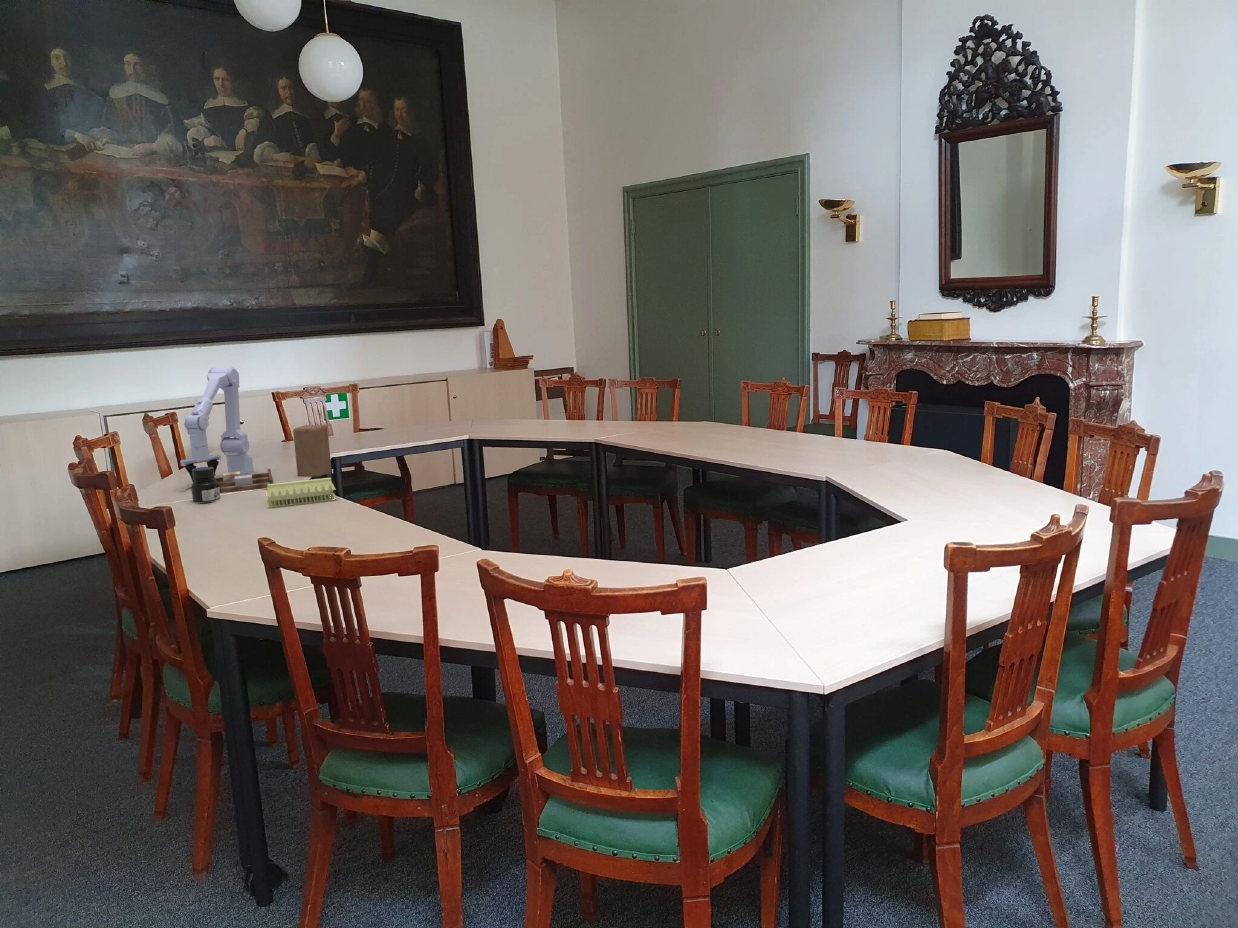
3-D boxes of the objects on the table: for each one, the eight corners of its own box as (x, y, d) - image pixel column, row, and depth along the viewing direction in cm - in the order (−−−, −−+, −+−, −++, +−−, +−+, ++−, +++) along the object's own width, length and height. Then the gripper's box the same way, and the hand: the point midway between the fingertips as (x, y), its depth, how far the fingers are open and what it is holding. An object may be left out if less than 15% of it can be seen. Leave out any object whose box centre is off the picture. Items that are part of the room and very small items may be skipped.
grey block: (235, 489, 325) (234, 478, 324) (235, 486, 330) (234, 476, 329) (253, 487, 327) (251, 477, 327) (252, 485, 332) (251, 474, 331)
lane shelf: (203, 497, 317) (202, 486, 317) (205, 484, 339) (203, 475, 338) (273, 489, 327) (272, 479, 326) (271, 477, 348) (270, 468, 348)
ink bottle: (209, 505, 305) (204, 471, 302) (186, 504, 307) (182, 471, 304) (226, 498, 314) (222, 466, 312) (204, 498, 316) (200, 465, 314)
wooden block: (319, 478, 344) (314, 428, 341) (296, 478, 346) (291, 428, 343) (332, 473, 354) (328, 424, 350) (310, 472, 356) (305, 424, 352)
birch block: (203, 487, 329) (201, 474, 328) (203, 485, 334) (202, 471, 333) (241, 483, 335) (239, 470, 333) (240, 481, 339) (239, 468, 338)
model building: (336, 493, 319) (334, 474, 318) (340, 500, 307) (338, 480, 306) (262, 501, 310) (260, 481, 308) (264, 509, 297) (262, 489, 296)
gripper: (213, 442, 338) (217, 476, 341) (175, 448, 327) (179, 483, 330) (221, 444, 334) (226, 478, 336) (183, 449, 323) (188, 485, 325)
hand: (203, 481), depth 333 cm, fingers open, 6 cm apart
